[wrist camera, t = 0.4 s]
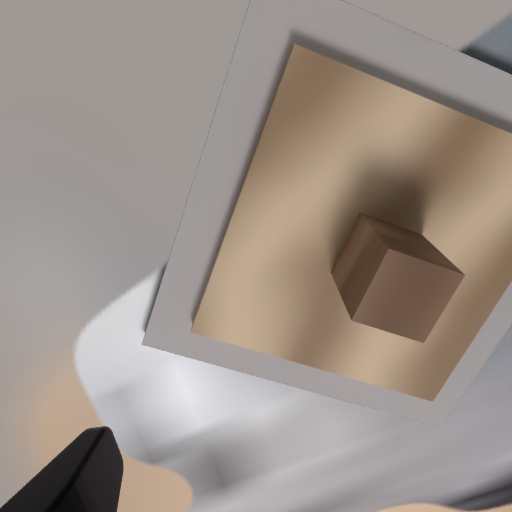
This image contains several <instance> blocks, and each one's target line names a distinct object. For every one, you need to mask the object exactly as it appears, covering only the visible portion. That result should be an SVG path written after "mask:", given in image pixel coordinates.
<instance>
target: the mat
mask: <svg viewBox="0 0 512 512" xmlns="http://www.w3.org/2000/svg"><path fill="white" fill-rule="evenodd" d="M293 44H297V45H299V46H301V47H304V48H306V49H309V50H311V51H313V52H316V53H318V54H321V55H323V56H326V57H328V58H330V59H333V60H335V61H338V62H340V63H342V64H345V65H347V66H350V67H352V68H355V69H357V70H359V71H362V72H364V73H367V74H369V75H371V76H374V77H376V78H379V79H381V80H384V81H386V82H388V83H391V84H393V85H396V86H398V87H400V88H403V89H405V90H408V91H410V92H413V93H415V94H417V95H420V96H422V97H425V98H427V99H429V100H432V101H434V102H437V103H439V104H441V105H444V106H446V107H449V108H451V109H454V110H456V111H458V112H461V113H463V114H466V115H468V116H470V117H473V118H475V119H478V120H480V121H483V122H485V123H487V124H490V125H492V126H495V127H497V128H499V129H502V130H504V131H507V132H509V133H512V75H511V74H509V73H507V72H504V71H502V70H500V69H498V68H495V67H493V66H491V65H489V64H486V63H484V62H482V61H479V60H477V59H475V58H473V57H470V56H468V55H466V54H464V53H461V52H459V51H457V50H454V49H452V48H450V47H448V46H445V45H443V44H441V43H438V42H436V41H434V40H432V39H429V38H427V37H425V36H423V35H420V34H418V33H416V32H413V31H411V30H409V29H407V28H404V27H402V26H400V25H398V24H395V23H393V22H391V21H388V20H386V19H384V18H382V17H379V16H377V15H375V14H372V13H370V12H368V11H366V10H363V9H361V8H359V7H356V6H354V5H352V4H350V3H347V2H345V1H343V0H250V2H249V5H248V9H247V12H246V15H245V18H244V21H243V24H242V28H241V31H240V34H239V37H238V40H237V43H236V47H235V50H234V53H233V56H232V60H231V63H230V66H229V69H228V72H227V75H226V78H225V82H224V85H223V88H222V91H221V94H220V97H219V101H218V104H217V107H216V110H215V113H214V117H213V120H212V123H211V126H210V129H209V132H208V136H207V139H206V142H205V145H204V148H203V151H202V155H201V158H200V161H199V164H198V167H197V171H196V174H195V177H194V180H193V183H192V186H191V190H190V193H189V196H188V200H187V202H186V205H185V209H184V212H183V215H182V218H181V221H180V225H179V228H178V231H177V234H176V237H175V241H174V244H173V247H172V250H171V253H170V257H169V259H168V263H167V266H166V269H165V272H164V275H163V279H162V282H161V285H160V288H159V291H158V294H157V298H156V301H155V304H154V307H153V310H152V313H151V317H150V320H149V323H148V326H147V329H146V333H145V336H144V339H143V342H142V345H145V346H149V347H152V348H156V349H160V350H163V351H167V352H170V353H174V354H178V355H181V356H185V357H188V358H192V359H196V360H199V361H203V362H206V363H210V364H214V365H217V366H221V367H224V368H228V369H232V370H235V371H239V372H242V373H246V374H250V375H253V376H257V377H260V378H264V379H268V380H271V381H275V382H278V383H282V384H286V385H289V386H293V387H296V388H300V389H304V390H307V391H311V392H314V393H318V394H322V395H325V396H329V397H332V398H336V399H340V400H343V401H347V402H350V403H354V404H358V405H361V406H365V407H368V408H372V409H376V410H379V411H383V412H386V413H390V414H394V415H397V416H401V417H404V418H408V419H412V420H415V421H419V422H423V423H426V424H430V425H433V426H437V427H442V425H443V424H444V422H445V421H446V419H447V418H448V416H449V415H450V413H451V412H452V411H453V409H454V408H455V406H456V405H457V403H458V402H459V400H460V399H461V397H462V396H463V394H464V393H465V392H466V390H467V389H468V387H469V386H470V384H471V383H472V381H473V380H474V378H475V377H476V375H477V374H478V373H479V371H480V370H481V368H482V367H483V365H484V364H485V362H486V361H487V359H488V358H489V356H490V355H491V353H492V352H493V351H494V349H495V348H496V346H497V345H498V343H499V342H500V340H501V339H502V337H503V336H504V334H505V333H506V332H507V330H508V329H509V327H510V326H511V324H512V282H511V283H510V285H509V286H508V288H507V289H506V291H505V292H504V294H503V295H502V297H501V298H500V300H499V301H498V303H497V305H496V306H495V308H494V309H493V311H492V312H491V314H490V315H489V317H488V318H487V320H486V321H485V323H484V324H483V326H482V327H481V329H480V330H479V332H478V334H477V335H476V337H475V338H474V340H473V341H472V343H471V344H470V346H469V347H468V349H467V350H466V352H465V353H464V355H463V356H462V358H461V359H460V361H459V363H458V364H457V366H456V367H455V369H454V370H453V372H452V373H451V375H450V376H449V378H448V379H447V381H446V382H445V384H444V385H443V387H442V388H441V390H440V392H439V393H438V395H437V396H436V398H435V399H434V401H433V402H432V401H428V400H425V399H421V398H418V397H414V396H411V395H407V394H404V393H400V392H397V391H393V390H390V389H386V388H383V387H379V386H376V385H373V384H369V383H366V382H362V381H359V380H355V379H352V378H348V377H345V376H341V375H338V374H334V373H331V372H327V371H324V370H320V369H317V368H313V367H310V366H306V365H303V364H300V363H296V362H293V361H289V360H286V359H282V358H279V357H275V356H272V355H268V354H265V353H261V352H258V351H254V350H251V349H247V348H244V347H240V346H237V345H233V344H230V343H226V342H223V341H220V340H216V339H213V338H209V337H206V336H202V335H199V334H195V333H192V332H191V328H192V323H193V320H194V317H195V314H196V312H197V309H198V306H199V303H200V300H201V298H202V295H203V292H204V289H205V287H206V284H207V281H208V278H209V275H210V273H211V270H212V267H213V264H214V262H215V259H216V256H217V253H218V250H219V248H220V245H221V242H222V239H223V236H224V234H225V231H226V228H227V225H228V223H229V220H230V217H231V214H232V211H233V209H234V206H235V203H236V200H237V197H238V195H239V192H240V189H241V186H242V184H243V181H244V178H245V175H246V172H247V170H248V167H249V164H250V161H251V159H252V156H253V153H254V150H255V147H256V145H257V142H258V139H259V136H260V133H261V131H262V128H263V125H264V122H265V120H266V117H267V114H268V111H269V108H270V106H271V103H272V100H273V97H274V94H275V92H276V89H277V86H278V83H279V81H280V78H281V75H282V72H283V69H284V67H285V64H286V61H287V58H288V56H289V53H290V50H291V47H292V45H293Z"/></svg>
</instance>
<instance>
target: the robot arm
mask: <svg viewBox="0 0 512 512" xmlns="http://www.w3.org/2000/svg"><path fill="white" fill-rule="evenodd" d="M122 476H123V459H122V456H121V453H120V450H119V448H118V445H117V443H116V440H115V437H114V435H113V432H112V430H111V429H110V428H109V427H107V426H103V427H96V428H89V429H86V430H85V431H84V432H82V433H81V434H80V435H79V436H78V437H77V438H76V439H75V440H74V441H73V442H72V443H70V444H69V445H68V446H67V447H66V448H65V449H64V450H63V451H62V452H61V453H60V454H59V455H57V457H55V458H54V459H53V460H52V461H51V462H50V463H49V464H48V465H47V466H45V467H44V468H43V469H42V470H41V471H40V472H39V473H38V474H37V475H36V476H35V477H34V478H32V479H31V480H30V481H29V482H28V483H27V484H26V485H25V486H24V487H23V488H22V489H21V490H19V491H18V492H17V493H16V494H15V495H14V496H13V497H12V498H11V499H10V500H9V501H8V502H7V503H5V504H4V505H3V506H2V507H1V508H0V512H117V507H118V501H119V495H120V488H121V482H122Z"/></svg>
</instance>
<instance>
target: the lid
mask: <svg viewBox="0 0 512 512" xmlns="http://www.w3.org/2000/svg"><path fill="white" fill-rule="evenodd" d="M511 282H512V133H509V132H507V131H504V130H502V129H499V128H497V127H495V126H492V125H490V124H487V123H485V122H483V121H480V120H478V119H475V118H473V117H470V116H468V115H466V114H463V113H461V112H458V111H456V110H454V109H451V108H449V107H446V106H444V105H441V104H439V103H437V102H434V101H432V100H429V99H427V98H425V97H422V96H420V95H417V94H415V93H413V92H410V91H408V90H405V89H403V88H400V87H398V86H396V85H393V84H391V83H388V82H386V81H384V80H381V79H379V78H376V77H374V76H371V75H369V74H367V73H364V72H362V71H359V70H357V69H355V68H352V67H350V66H347V65H345V64H342V63H340V62H338V61H335V60H333V59H330V58H328V57H326V56H323V55H321V54H318V53H316V52H313V51H311V50H309V49H306V48H304V47H301V46H299V45H297V44H293V45H292V47H291V50H290V53H289V56H288V58H287V61H286V64H285V67H284V69H283V72H282V75H281V78H280V81H279V83H278V86H277V89H276V92H275V94H274V97H273V100H272V103H271V106H270V108H269V111H268V114H267V117H266V120H265V122H264V125H263V128H262V131H261V133H260V136H259V139H258V142H257V145H256V147H255V150H254V153H253V156H252V159H251V161H250V164H249V167H248V170H247V172H246V175H245V178H244V181H243V184H242V186H241V189H240V192H239V195H238V197H237V200H236V203H235V206H234V209H233V211H232V214H231V217H230V220H229V223H228V225H227V228H226V231H225V234H224V236H223V239H222V242H221V245H220V248H219V250H218V253H217V256H216V259H215V262H214V264H213V267H212V270H211V273H210V275H209V278H208V281H207V284H206V287H205V289H204V292H203V295H202V298H201V300H200V303H199V306H198V309H197V312H196V314H195V317H194V320H193V323H192V328H191V332H192V333H195V334H199V335H202V336H206V337H209V338H213V339H216V340H220V341H223V342H226V343H230V344H233V345H237V346H240V347H244V348H247V349H251V350H254V351H258V352H261V353H265V354H268V355H272V356H275V357H279V358H282V359H286V360H289V361H293V362H296V363H300V364H303V365H306V366H310V367H313V368H317V369H320V370H324V371H327V372H331V373H334V374H338V375H341V376H345V377H348V378H352V379H355V380H359V381H362V382H366V383H369V384H373V385H376V386H379V387H383V388H386V389H390V390H393V391H397V392H400V393H404V394H407V395H411V396H414V397H418V398H421V399H425V400H428V401H432V402H433V401H434V399H435V398H436V396H437V395H438V393H439V392H440V390H441V388H442V387H443V385H444V384H445V382H446V381H447V379H448V378H449V376H450V375H451V373H452V372H453V370H454V369H455V367H456V366H457V364H458V363H459V361H460V359H461V358H462V356H463V355H464V353H465V352H466V350H467V349H468V347H469V346H470V344H471V343H472V341H473V340H474V338H475V337H476V335H477V334H478V332H479V330H480V329H481V327H482V326H483V324H484V323H485V321H486V320H487V318H488V317H489V315H490V314H491V312H492V311H493V309H494V308H495V306H496V305H497V303H498V301H499V300H500V298H501V297H502V295H503V294H504V292H505V291H506V289H507V288H508V286H509V285H510V283H511Z"/></svg>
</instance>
